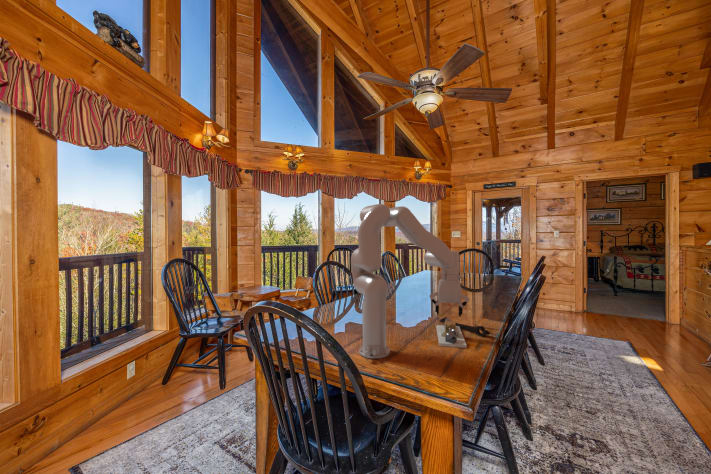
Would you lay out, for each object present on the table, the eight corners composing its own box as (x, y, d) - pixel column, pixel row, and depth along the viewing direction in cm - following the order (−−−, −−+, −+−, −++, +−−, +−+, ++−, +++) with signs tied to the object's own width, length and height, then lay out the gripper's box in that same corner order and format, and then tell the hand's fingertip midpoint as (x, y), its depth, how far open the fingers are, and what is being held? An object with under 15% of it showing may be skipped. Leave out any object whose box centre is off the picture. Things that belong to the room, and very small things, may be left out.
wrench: (446, 323, 158) (495, 337, 132) (439, 325, 156) (487, 340, 129) (445, 314, 158) (493, 325, 132) (438, 316, 156) (486, 328, 129)
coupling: (456, 337, 129) (456, 325, 128) (445, 337, 130) (445, 325, 129) (454, 332, 135) (454, 321, 135) (444, 332, 136) (444, 320, 136)
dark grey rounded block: (450, 338, 128) (450, 328, 128) (458, 340, 125) (458, 330, 125) (444, 342, 123) (444, 331, 123) (452, 344, 121) (452, 333, 121)
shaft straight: (453, 331, 137) (453, 321, 137) (445, 330, 138) (445, 321, 138) (451, 326, 144) (451, 317, 144) (443, 325, 145) (443, 316, 145)
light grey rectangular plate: (466, 347, 120) (466, 342, 120) (439, 345, 123) (439, 340, 123) (459, 328, 144) (459, 324, 144) (436, 327, 146) (436, 322, 146)
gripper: (468, 277, 133) (467, 314, 134) (429, 275, 137) (428, 311, 137) (471, 279, 126) (470, 318, 126) (430, 277, 130) (429, 315, 130)
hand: (448, 314), depth 132 cm, fingers open, 9 cm apart
